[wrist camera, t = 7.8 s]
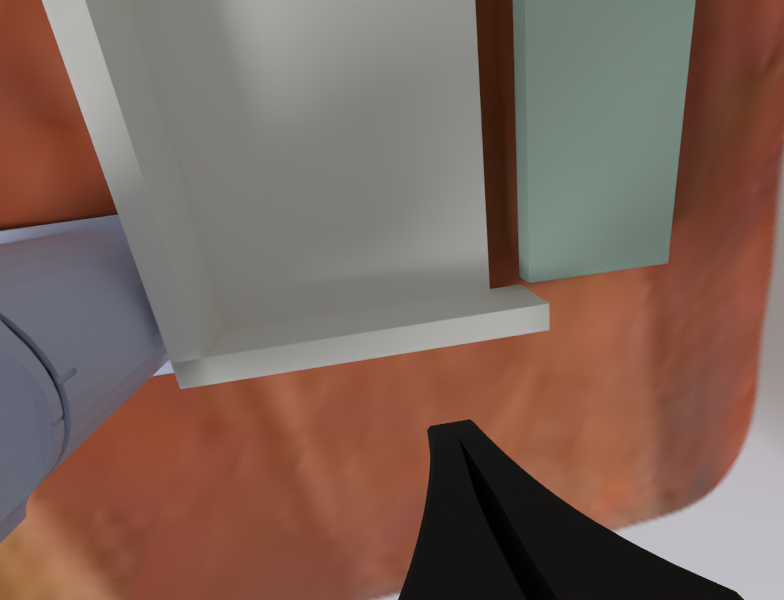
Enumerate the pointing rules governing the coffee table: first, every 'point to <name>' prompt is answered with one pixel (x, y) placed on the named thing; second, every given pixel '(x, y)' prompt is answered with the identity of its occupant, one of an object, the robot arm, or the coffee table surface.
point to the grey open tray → (294, 176)
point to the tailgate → (597, 132)
